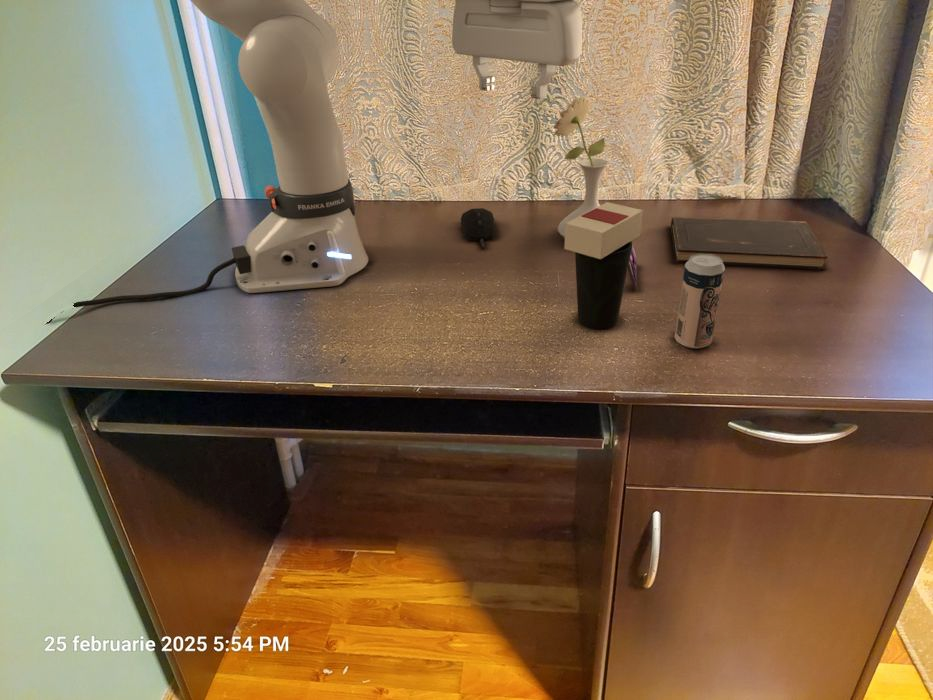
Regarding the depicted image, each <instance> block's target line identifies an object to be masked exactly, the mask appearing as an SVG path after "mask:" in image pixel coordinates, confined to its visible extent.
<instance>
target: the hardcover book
mask: <svg viewBox="0 0 933 700" xmlns="http://www.w3.org/2000/svg"><path fill="white" fill-rule="evenodd" d="M670 231H671V232H670V233H671V239H672V240H671V241H672V247H673V254H674V255H673V256H674V262H675V263H680V264H681V263H682V264H686V262H688V261H689V259H690V257H691V256H692V255H696V254H700V253H701V254H712V255H715V256H718V257H719V258H720V259H721V260H722V261H723V264H724V266H739V267H740V266H741V267H743V266H744V267H760V268H761V267H763V268H783V269H801V270H802V269H805V270H825V266H824V264H825V259H828V255H827V254H826V252H825V250H824V249H823V247H822V245H821V244H820V242H819V240H818V239H817V237H816V236H815V233H814V232H813V230H812V229H811V227H810V226H809V224H808V222H807V221H803V220H801V221H800V220H799V221H798V220H776V219H775V220H774V219H773V220H770V219H744V218H743V219H742V218H719V217H718V218H715V217H714V218H713V217H690V216H689V217H688V216H671V222H670Z"/></svg>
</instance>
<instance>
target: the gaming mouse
mask: <svg viewBox="0 0 933 700" xmlns="http://www.w3.org/2000/svg"><path fill="white" fill-rule="evenodd" d="M495 225H496V224H495V218H494V214H493V212H492V211H490V210H488V209H486V208H483V207H479V208H477V207H476V208H470V209H468V210H467V211H465V212H463V213H462V214H461V217H460V227H461V230H462V232H463V235H464V237H465V238H466V239H468V241H477V242H479V243H480V245H481V249H483V250H484V249H485V241H489V240H492V239H493V238H495V236H496V226H495Z"/></svg>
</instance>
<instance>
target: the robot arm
mask: <svg viewBox="0 0 933 700" xmlns="http://www.w3.org/2000/svg"><path fill="white" fill-rule="evenodd" d="M190 2H191V3H192V4H193V5H194V6H195V8H197V9H198V10H199V11H200V13H201V14H202V15H203V16H205V17H206V18H207V19H209V20H210V21H212V22H214V23H216V24H217V25H219V26H221V27H223V28H224V29H225V30H227V31H228V32H229V33H230V34H232V35H234V37H236V38H237V39H239V40H240V41H241V42H242V45H241V46H240V50H239V51H238V52H239V53H238V57H237V58H238V59H237V65H238V66H237V67H238V71H239V75H240V78H241V81H242V82H243V83H244V85H245V88H247V90H248V91H249V92H250V93H251V94H252V95H253V98H254V100H255V103H256V106H257V108H258V110H259V113H260V116H261V118H262V121H263V123H264V126H265V128H266V131H267V135H268V137H269V141H270V144H271V149H272V154H273V159H274V164H275V168H276V174H277V180H278V185H279V186H278V187H275V186H274V185H267V186H266V187H265V189H264V195H265V198H266V199H267V200H269V201H268V202H269V207H270V210H271V212H270V213H269V214H268V215H266V217H265V218H264V219H262V221H261V222H260V223H258V224H257V225H256V226H255V227H254V228H253V229H252V230H251V231H250V232H249V233H248V236H247V238H246V241H245V245H238V246H233V247H231V252H232V256H233V258H230V259H229V260H226V261H224V262H223V263H221V264H219V265H217V266H215V267H214V268H213V269H212V270H211V271H210V272H209V274H208V275H207V279H206V281H205V283H203V284H202V285H200V286H197V287H195V288H192V289H188V290H179V291H178V290H177V291H166V292H165V291H164V292H156V293H155V292H154V293H147V294H132V295H131V294H128V295H127V294H126V295H116V296H109V297H104V298H98V299H89V300H80V301H75V302H76V303H74V302H73V303H74V305H73V306H74V307H76V308H81V307H82V308H83V307H89V306H98V305H103V304H110V303H115V302H125V301H126V302H127V301H144V300H145V301H146V300H154V299H163V298H176V297H177V298H178V297H183V296H189V295H193V294H197V293H200V292H203V291H205V290H206V289H208V288H209V287H211V285H212V283H213V281H214V278H215V276H216V275H217V274H218V273H219V272H221V271H223V270H224V269H226V268H228V267H230V266H232V265H234V264H235V266H236V267H235V269H234V270H235V271H234V275H235V282H236V284H237V287H238V288H239V289H240V290H241V291H243V292H245V293H248V294H257V293H258V294H259V293H270V292H282V291H292V290H293V291H295V290H305V289H316V288H317V289H318V288H327V287H336V286H339V285H341V284H343V283H344V282H345V281H346V280H347V279H348V278H349V277H351V276H353V275H355V274H357V273H358V272H361V270H363V269H364V268H366V266H367V264H368V263H369V255H368V254H367V252H366V249H365V247H364V244H363V242H362V239H361V235H360V233H359V229H358V225H357V221H356V217H355V216H356V202H355V201H356V200H355V194H354V187H353V184H352V182H351V180H350V178H349V175H348V167H347V166H348V165H347V158H346V151H345V146H344V137H343V132H342V130H341V128H340V126H339V124H338V122H337V118H336V116H335V113H334V112H335V111H334V109H333V105H332V102H331V99H330V95H329V89H328V81H329V80H331V78H333V76H334V74H335V73H336V71H337V69H338V66H339V62H340V58H341V57H340V56H341V47H340V42H339V41H340V40H339V37H338V34H337V33H336V31H335V29H334V28H333V26H332V25H331V24H330V23H329V22H328V21H327V20H326V19H324V18H323V17H322V16H320V15H319V14H318V13H317V12H316V11H315V10H314V9H313V8H312V7H311V6H310V4H308V2H306V1H305V0H190ZM454 3H455V4H454V9H453V15H452V17H453V18H452V29H451V45H452V48H453V50H454V52H455V54H456V55H462V56H468V57H469V56H470V57H472V66H473V68H474V70H475V74H476V76H477V78H478V89H479V90H480V91H486V92H490V91H494V90H495V86H496V85H495V81H496V80H495V79H496V78H495V76H493V75H491V73H490V71H489V66H488V64H489V63H490V59H497V60H504V61H514V62H521V63H530V64H537V73H539V74H540V75H539V77H538V79H537V82H536V83H533V84H530V90H531V92H530V98H532V99H536V100H544V99H546V98H547V97H548V85H549V84H550V82H551V80H552V79H553V77H554V75H555V73H556V67H564V66H570V65H574V64H575V63H576V62H577V61H578V60H579V58H580V57H581V54H582V49H583V48H582V47H583V13H582V9H581V6H580V5H579V4H580V3H578V2H577V1H576V0H455V1H454ZM62 313H63V312H61V313H60V314H62ZM55 318H56V317H54V318H53V319H51V320H50V321H49V322H47V323H46V324H45V325H49V324H51V322H52V321H53V320H54V319H55Z"/></svg>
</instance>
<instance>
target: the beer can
mask: <svg viewBox="0 0 933 700" xmlns="http://www.w3.org/2000/svg"><path fill="white" fill-rule="evenodd" d="M683 270H684V271H683V277H682V284H681V290H680V297H679V303H678V311H677V317H676V324H675V331H674V339H675V341H676V342H677V343H678V344H680V345H681V346H683V347H684V348H685V347H686V348H689V349H694V350H695V349H702V348H706V347H708V346H710V345H711V344H712V342H713V337H714V331H715V326H716V320H717V314H718V309H719V303H720V298H721V293H722V286H723V281H724V277H725V276H724V274H725V270H726V266H725V265H724V264H723V261H722V260H721V259H720V258H719V257H718V256H715V255H712V254H701V253H700V254H696V255H692V256H691V257H690V259H689V261H688V262H686V263H684V269H683Z"/></svg>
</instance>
